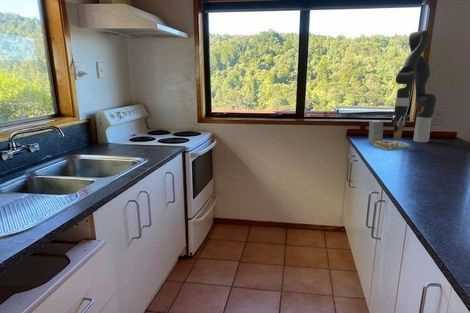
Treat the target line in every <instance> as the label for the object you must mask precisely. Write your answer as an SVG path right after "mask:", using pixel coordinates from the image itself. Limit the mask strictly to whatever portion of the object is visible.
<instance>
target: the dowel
mask: <svg viewBox="0 0 470 313" xmlns="http://www.w3.org/2000/svg"><path fill="white" fill-rule="evenodd" d="M396 121H397V120H396ZM402 128H403V129H404V126H403V121H400V123H399V125H398V132H394V131H393V138H392V139H393V140H402V136H403V135H402V134H403V131H402Z"/></svg>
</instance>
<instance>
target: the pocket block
mask: <svg viewBox="0 0 470 313" xmlns="http://www.w3.org/2000/svg"><path fill="white" fill-rule="evenodd" d="M396 142H397V141H396ZM396 142H394V141H390V140H385V139H384V140H383V139H382V141H375V142H374V144H373V148H377V149H380V150H381V149H382V150H384V151H391V150H396V149H397V150H398V149H399V148H398V143H396Z"/></svg>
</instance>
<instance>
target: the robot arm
mask: <svg viewBox="0 0 470 313" xmlns="http://www.w3.org/2000/svg"><path fill="white" fill-rule="evenodd" d="M430 39H431V37H430V32H429V31H428V30H419V31H414V32H411V33H410V34H409V36H408V44H409V48H410V54H409V55H408V56H407V57H406V59H405V61H404V64H403V66H402V68H401V69H400V70H399V71H398V72H397V74H396V76H395V83H396V84H398V85H405V86H404V87H400V88H398V89H397V91H396V98H395V103H394V104H395V105H394V109H393V110H394V111H393V112H394V113H395V114H394V115H392V116H391V125H392V126H393V133H394V132H398V125H399V123H400V121H403V128H402V132H403V131H404V126H406V125H407V123H408V119H409V115H406V113H407V114H408V109H409V102H410V100H409V99H410V94H411V89H412V86H413V84H414V83H415V84H414V85H415V102H416V103H415V104H416V105H417V106H418V107H420V108H423V109H422V111H418V112H417V113H416V118H415V119H416V120H415V125H414V127H415V128H414V134H413V142H416V143H428V142H430V134H431V124H432V118H433V115H434V111H435V107H436V103H437V97H436V95H435V94H434V93H426V84H427V82H428V80H429V79H430V75H431V72H430V71H431V70H430V64H429V62H428V61H427V60H426V58H425V57H423V55H422V54H424V51H425V49H426V48H427V46H428V45H429V42H430ZM396 120H397V121H396Z"/></svg>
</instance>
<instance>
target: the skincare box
mask: <svg viewBox="0 0 470 313" xmlns="http://www.w3.org/2000/svg"><path fill="white" fill-rule="evenodd" d="M368 125H369V126H368V143H369V144H372V145H374V142H375V141H383V137H384V134H383V133H384V121H383V120H378V119H377V120H369V124H368Z"/></svg>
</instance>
